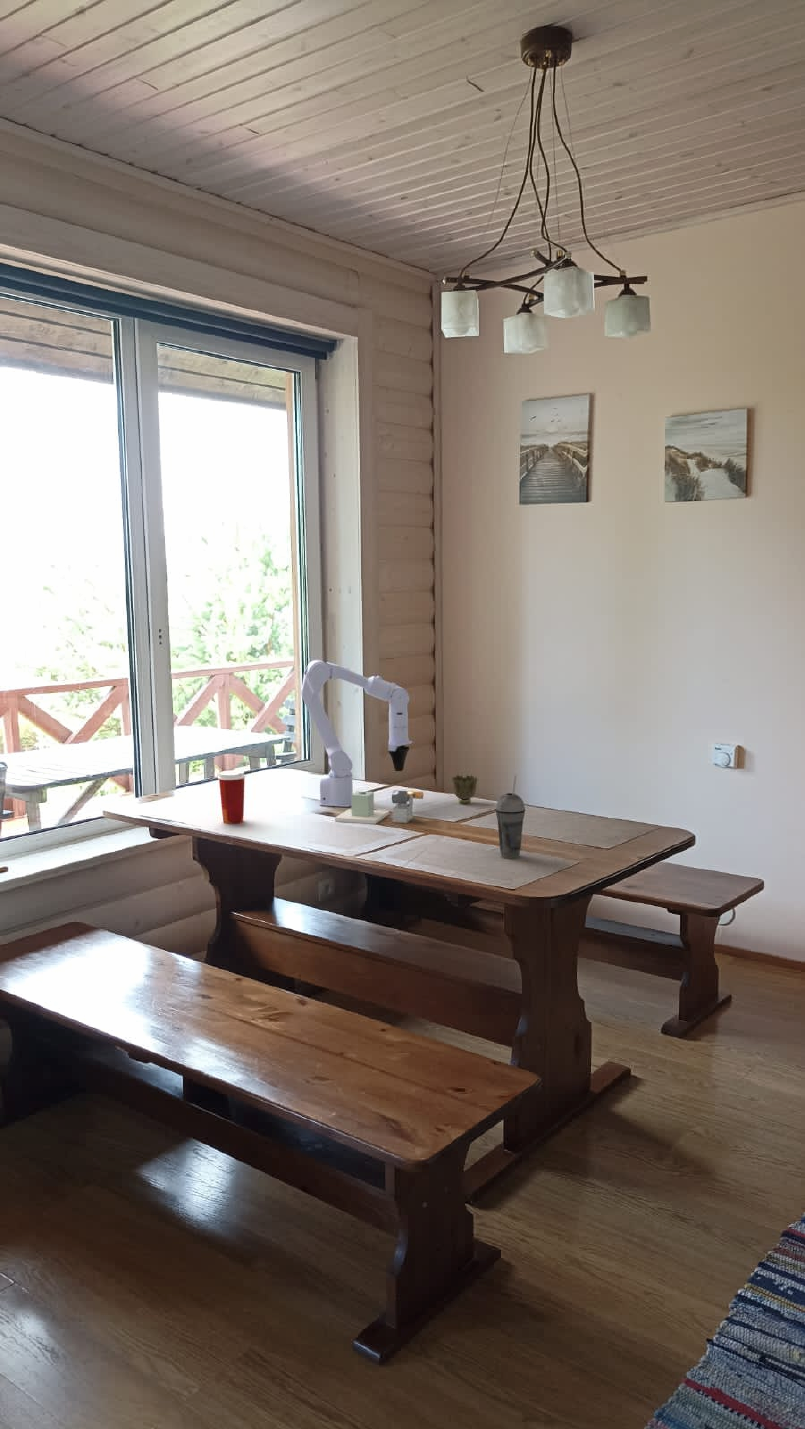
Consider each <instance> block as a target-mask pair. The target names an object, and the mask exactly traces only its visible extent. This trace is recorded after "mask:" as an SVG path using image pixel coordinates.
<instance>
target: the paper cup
mask: <svg viewBox="0 0 805 1429" xmlns="http://www.w3.org/2000/svg"><path fill="white" fill-rule="evenodd" d="M244 772H245V771H243V770H234V769H233V770H224V771H221V772H219V774H218V776H217V779H218V781H219V795H220V804H221V812H222V822H223V823H224V824H229V825H233V824H235V825H237V824H240V823H243V822H244V815H245V814H244V811H245V779H246V775H245V773H244Z"/></svg>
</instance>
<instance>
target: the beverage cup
mask: <svg viewBox="0 0 805 1429" xmlns="http://www.w3.org/2000/svg"><path fill="white" fill-rule="evenodd" d="M513 776H514V777H513V782H512V783H513V784H512V792H509V793H507V792H506V793H505V794H503V795H501V796H500V797H499V798H498V799H497V801H496V805H495V809H494V810H495V815H496V819H497V828H498V840H499V851H500V857H501V858H502V859H506V860H514V859H515V860H516V859H519V858H520V853H521V850H522V849H521V847H522V837H523V826H524V825H523V824H524V818H525V814H526V813H525V812H526V808H525V804H524V801H523V799H522V798H521V797H520V796H519V795H518V794H516V793H515V791H516V783H517V781H516V780H517V775H513Z"/></svg>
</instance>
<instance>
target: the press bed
mask: <svg viewBox="0 0 805 1429" xmlns="http://www.w3.org/2000/svg"><path fill="white" fill-rule="evenodd" d="M389 814H390V811H389V810H384V809H383V810H380V809H374V813H373V814H372V815H370V816H369V817H363V816H352V808H351V807H350V808H349V807H348V809H346V810H345V811H343V812H342V813H341V814H339V815H337V816H336V817H334V822H339V823H340V822H341V823H354V824H355V823H356V824H368V825H369V824H370V825H372V824H373V825H376V824H377V823H379V822H381V821H382V820H383V819H384V818H386V817H387V816H388V815H389Z"/></svg>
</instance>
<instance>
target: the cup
mask: <svg viewBox="0 0 805 1429" xmlns="http://www.w3.org/2000/svg"><path fill="white" fill-rule="evenodd" d="M477 782H478V777H476V776H473V775H472V774H471V775H468V774H467V775H466V776H465V777H463V775H456V776H455V775H454V776H453V777H452V785H453V786H452V787H453V792H454V795H455V797H457V799H458V803H459V804H460V805H469V804H470V803H471V802H472V800H471V799H472V798H473V797H474V796H475V794H476V791H477Z"/></svg>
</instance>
